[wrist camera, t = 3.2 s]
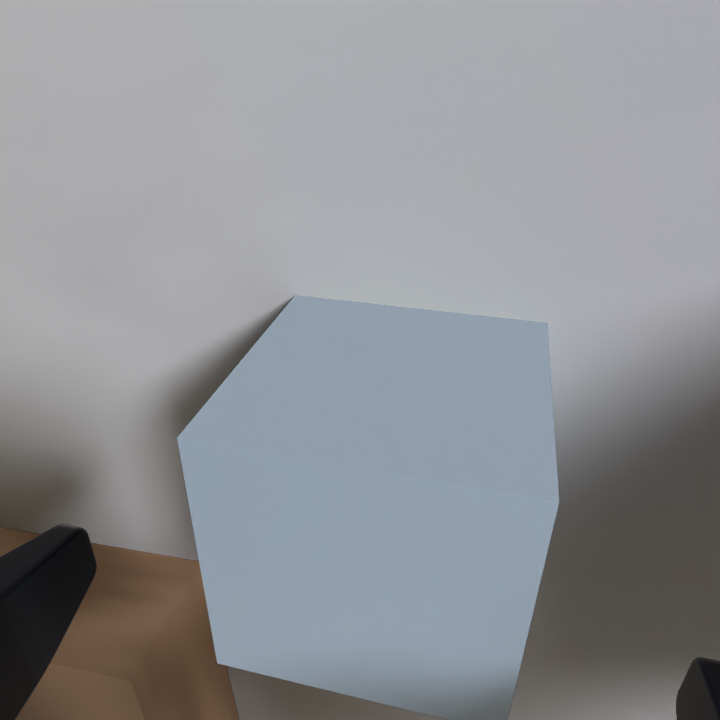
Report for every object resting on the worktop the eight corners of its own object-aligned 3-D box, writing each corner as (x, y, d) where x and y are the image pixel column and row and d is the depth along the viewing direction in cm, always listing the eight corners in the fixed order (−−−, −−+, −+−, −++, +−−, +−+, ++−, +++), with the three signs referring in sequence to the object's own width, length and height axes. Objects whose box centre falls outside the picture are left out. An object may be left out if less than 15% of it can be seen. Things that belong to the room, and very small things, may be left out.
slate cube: (547, 321, 11) (558, 500, 7) (511, 515, 14) (504, 733, 10) (296, 293, 12) (176, 438, 8) (305, 479, 15) (217, 663, 11)
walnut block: (206, 553, 18) (130, 681, 14) (247, 727, 22) (196, 856, 19) (-46, 511, 20) (-165, 614, 16) (38, 678, 24) (-42, 787, 21)
